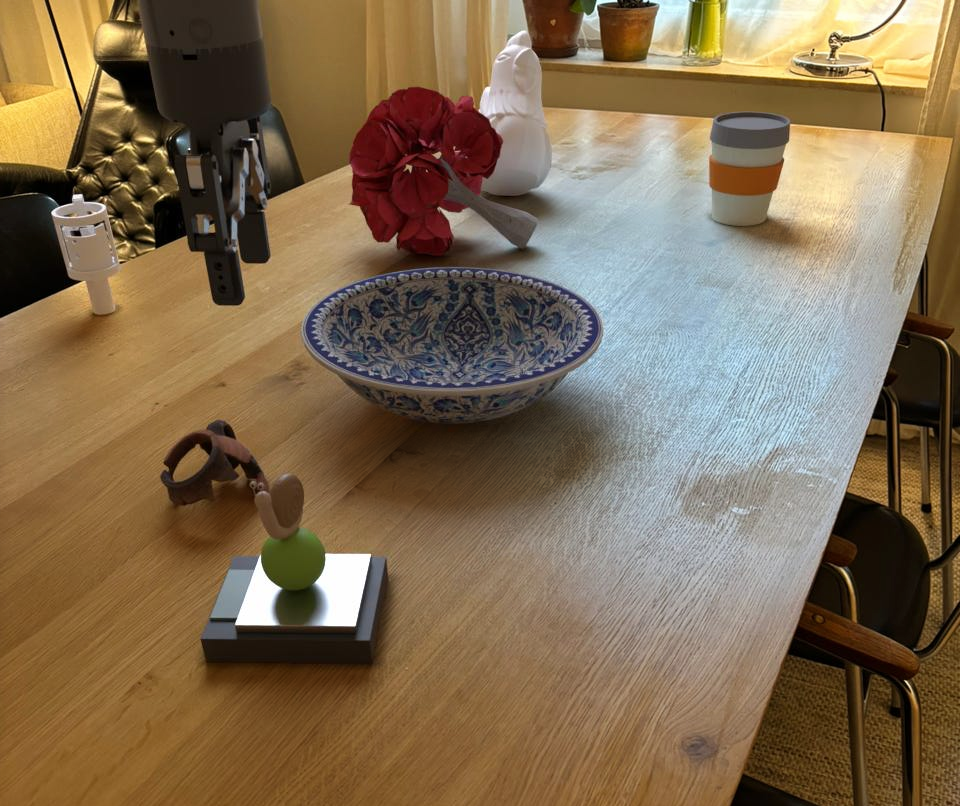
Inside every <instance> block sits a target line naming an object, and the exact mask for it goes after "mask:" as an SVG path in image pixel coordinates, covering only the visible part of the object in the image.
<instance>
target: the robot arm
mask: <svg viewBox="0 0 960 806" xmlns="http://www.w3.org/2000/svg"><path fill="white" fill-rule="evenodd" d="M136 2H137V8H138V13H139V17H140V23H141V29H142V34H143V38H144V44H145V50H146V55H147V59H148V64H149V69H150V75H151V81H152V85H153V90H154V96H155V100H156V101H155V102H156V106H157V110H158V112H159V114H160V115H161V116H162V117H163V118H164V119H166V120H168V121H171V122H172V123H178V122H179V123H181V124H183V125H185V126H186V128H187V129H188V132H189V134H188V138H189V148H188V149H187V152H186V154H176V155H175V157H174V163H173V166H174V169H175V175H176V180H177V186H178V192H179V198H180V205H181V209H182V215H183V222H184V228H185V233H186V239H187V246H188V249H189V251H190V252H191V253H203V257H204V262H205V267H206V273H207V278H208V283H209V288H210V295H211V299H212V302H213V303H214V304H215V305H216V306H220V307H221V306H225V307H227V306H228V307H233V306H234V307H236V306H241V305H242V304H243V302H244V301H245V299H246V293H245V287H244V281H243V275H242V268H241V262H240V259H241V261H242V262H243V263H245V264H248V265H249V264H250V265H251V264H256V265H257V264H261V265H262V264H266V263H268V262H269V260H270V259H271V256H272V255H271V248H270V242H269V241H270V240H269V233H268V226H267V221H266V212H265V211H267V206H268V198H267V195H270V194H271V189H272V182H271V180H270V172H269V167H268V160H267V159H268V158H267V152H266V147H265V146H266V145H265V139H264V134H263V125H262V116H263V115H265V114H266V113H267V112H268V111H269V110H270V108H271V105H272V95H271V87H270V80H269V73H268V65H267V57H266V49H265V42H264V34H263V28H262V27H263V26H262V20H261V12H260V4H259V0H136ZM211 221H213V226H214V232H210V223H211Z"/></svg>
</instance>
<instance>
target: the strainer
mask: <svg viewBox="0 0 960 806" xmlns="http://www.w3.org/2000/svg"><path fill="white" fill-rule="evenodd" d="M88 212H89V213H90V212H93V213H91V214H88ZM71 214H76V215H77V216H66V215H71ZM51 218H52V221H53V224H54V229H55V232H56V235H57V239H58V242H59V243H58V244H59V246H60V250H61V254H62V257H63V261H64V264H65V268H66V271H67V276H68V277H69V278H70V279H72V280H75V281H78V282H79V281H81V282H85V285H86V289H87V293H88V296H89V300H90V304H91V307H92V312H93V314H95V315H99V316H101V315H102V316H103V315H109V314H112V313H114V312H115V311H116V306H115V301H114V298H113V294H112V290H111V285H110V282H109V278H112V277H115V276H116V275H117V274H120V272H121V270H122V269H121V265H120V264H121V263H120V260H119V256H118V251H117V248H116V247H117V246H116V244H115V239H114V235H113V230H112V227H111V223H110V219H109V214H108V209H107V206H106V205H105V204H104V203H100V202H95V201H85V199H84V196H83V193H80V194H79V193H78V194H73V195H72V203H68V204H64V205H60V206H58V207H56V208H54V209H53V210H52V211H51ZM103 221H104V222H103ZM98 223H99V224H98ZM95 224H98V225H97V226H95ZM61 227H62V228H61ZM74 231H79V232H80V235H81V236H72V234H71V232H74ZM74 241H75V242H74Z"/></svg>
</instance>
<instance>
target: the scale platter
mask: <svg viewBox="0 0 960 806" xmlns="http://www.w3.org/2000/svg"><path fill="white" fill-rule="evenodd" d="M259 556H260V557H259V560H258V562H257V565H256V568H255V571H254V573H253V576H252V579H251V582H250V584H249V587H248V590H247V593H246V595H245V598H244V601H243V604H242V606H241V609H240V612H239V615H238V617H237V620H236V623H235V629H236V632H242V633H345V634H356V633H357V629H358V624H359V619H360V614H361V610H362V605H363V600H364V596H365V591H366V586H367V582H368V577H369V572H370V568H371V563H372V558H371V557H372V554H371V553H326V564H325V568H324V571H323V573H322V575H321V577H320V578H319V579H318V580H317V581H316V582H315V583H314V584H313V585H311V586H309V587H307V588H305V589H302V590H286V589H282V588H280V587H278V586H276V585H275V584H273V583H272V582H271V581H270V580H269V579H268V578H267V576H266V575H265V573H264V571H263V568H262V565H261V553H260V554H259Z"/></svg>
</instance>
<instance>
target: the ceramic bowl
mask: <svg viewBox="0 0 960 806" xmlns="http://www.w3.org/2000/svg"><path fill="white" fill-rule="evenodd" d="M300 336H301V340H302V343H303V345H304V348H305V350H306V351H307V352H308V354H309V356H311V358H312V359H313V360H315V361H316V362H317V364H319V365H320V366H322V367H323V368H325V369H326V370H328V371H329V372H332V373H333V374H335V375H337V376H338V377H339V379H341V381H342V382H343V383H345V385H346V386H347V387H348V388H350V390H352V391H353V392H355V394H357V395H358V396H359V397H361V398H362V399H364V400H366V401H367V402H369V403H370V404H372V405H374V406H376V407H377V408H380V409H382V410H384V411H386V412H389V413H391V414H394V415H397V416H399V417H402V418H403V417H404V418H407V419H410V420H414V421H420V422H426V423H435V424H469V423H470V424H471V423H478V422H479V423H480V422H483V421H484V422H485V421H490V420H495V419H499V418H503V417H505V416H508V415H511V414H514V413H516V412H518V411H519V412H520V411H521V410H523V409H525V408H528V407H529V406H531V405H533V404H535V403H536V402H538V401H539V400H541V399H542V398H545V396H546V395H548V394H549V393H550V392H551V391H553V390H554V389H555V388H557V386H558V385H559V384H561V383H562V381H563V380H564V379H565V378H566V377H567V375H568V374H569V373H571V372H573V371H574V370H576V369H578V368H579V367H581V366H582V365H584V364H585V363H586V362H587V361H589V359H591V358H592V357H593V356H594V355H595V353H596V352H597V351H598V350H599V347H600V345H601V344H602V340H603V336H604V325H603V319H602V318H601V316H600V314H599V312H598V311H597V309H596V308H595V307H594V306H593V305H592V304H591V303H590V302H589V301H587V299H586V298H584V297H582V296H581V295H579V294H578V293H576V292H575V291H574V290H573V291H572V290H571V289H569V288H567V287H564V286H563V285H560V284H558V283H555V282H552V281H549V280H546V279H544V278H541V277H537V276H532V275H530V274H529V275H528V274H524V273H518V272H514V271H509V270H503V269H493V268H486V267H485V268H484V267H471V266H469V267H468V266H467V267H465V266H440V267H439V266H438V267H424V268H423V267H422V268H414V269H407V270H399V271H393V272H388V273H383V274H378V275H374V276H371V277H370V276H369V277H368V278H364V279H360V280H357V281H354V282H351V283H349V284H346V285H344V286H341V287H340V288H338V289H336V290H333V291H332V292H329V293H328V294H327V295H325V296H323V297H322V298H321V299H320V300H318V301H317V302H315V304H313V305H312V306H311V308H310V309H309V310H308V311H307V312H306V314H305V316H304V317H303V320H302V323H301V329H300Z"/></svg>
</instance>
